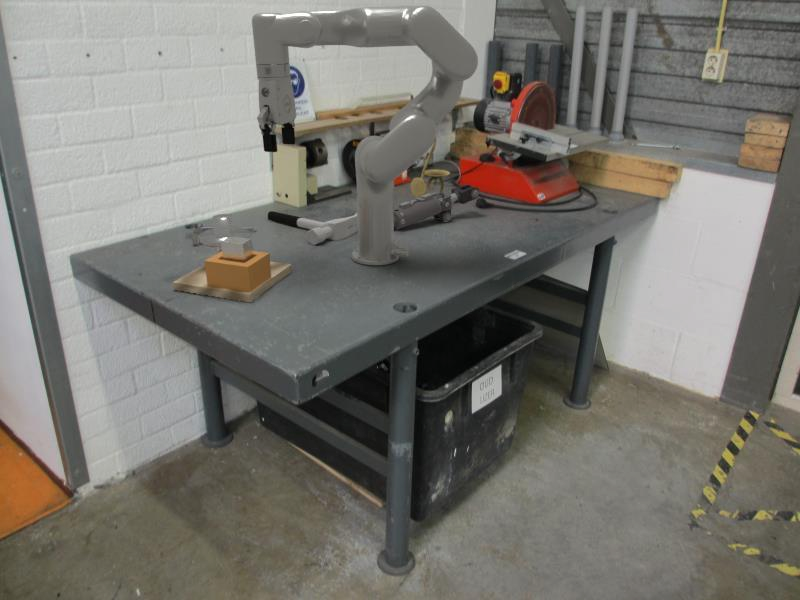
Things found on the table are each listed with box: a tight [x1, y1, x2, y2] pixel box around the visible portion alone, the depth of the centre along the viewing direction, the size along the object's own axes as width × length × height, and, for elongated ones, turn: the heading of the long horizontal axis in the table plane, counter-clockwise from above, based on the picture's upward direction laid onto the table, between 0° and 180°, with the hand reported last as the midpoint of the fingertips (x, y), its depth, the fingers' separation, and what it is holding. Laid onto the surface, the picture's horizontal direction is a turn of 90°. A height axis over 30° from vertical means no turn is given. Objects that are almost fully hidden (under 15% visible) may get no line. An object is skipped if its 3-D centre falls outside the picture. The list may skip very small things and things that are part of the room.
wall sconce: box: [410, 137, 451, 198], centre depth 213 cm, size 14×10×25 cm
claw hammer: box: [267, 210, 357, 246], centre depth 191 cm, size 6×22×30 cm
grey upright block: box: [221, 236, 254, 263], centre depth 144 cm, size 6×4×10 cm
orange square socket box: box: [172, 213, 293, 303], centre depth 150 cm, size 21×21×14 cm
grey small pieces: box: [191, 223, 258, 247], centre depth 180 cm, size 20×1×6 cm, turn 136°
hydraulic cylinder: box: [394, 184, 481, 230], centre depth 197 cm, size 7×37×10 cm, turn 125°
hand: (280, 147), depth 151 cm, fingers open, 9 cm apart
